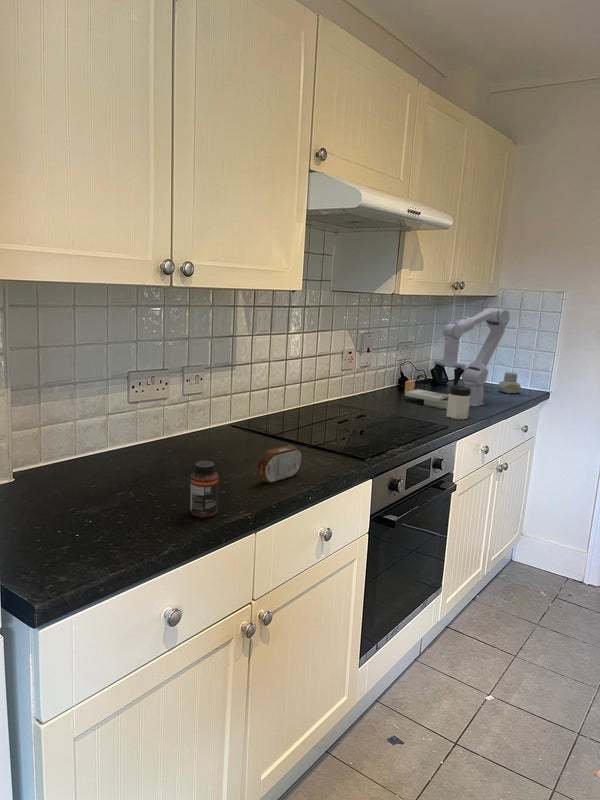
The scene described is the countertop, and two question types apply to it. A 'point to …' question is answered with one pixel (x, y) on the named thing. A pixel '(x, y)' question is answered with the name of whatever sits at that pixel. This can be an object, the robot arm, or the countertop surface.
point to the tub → (437, 403)
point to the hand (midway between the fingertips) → (447, 383)
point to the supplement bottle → (204, 490)
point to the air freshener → (509, 383)
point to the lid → (422, 393)
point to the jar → (458, 402)
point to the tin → (279, 463)
